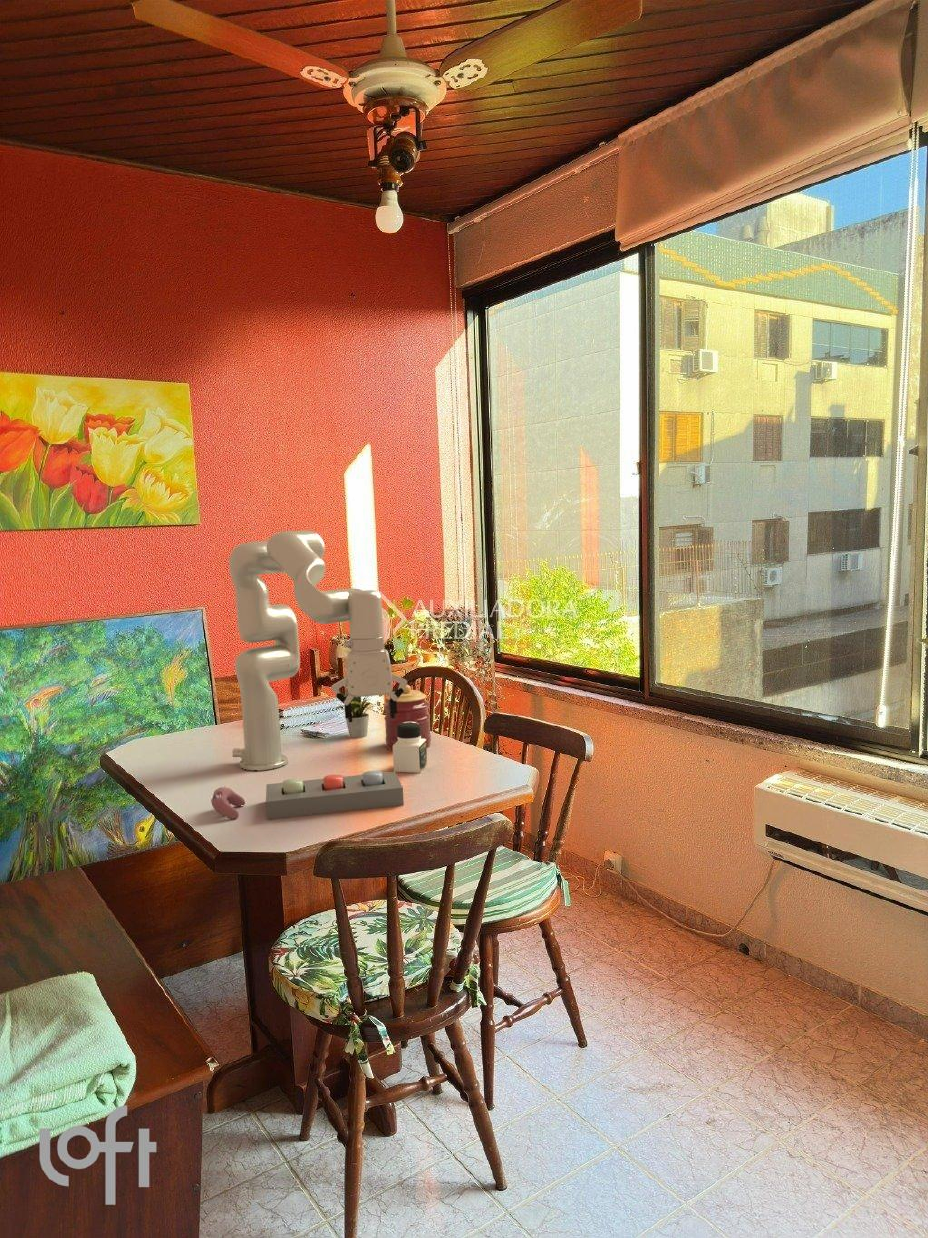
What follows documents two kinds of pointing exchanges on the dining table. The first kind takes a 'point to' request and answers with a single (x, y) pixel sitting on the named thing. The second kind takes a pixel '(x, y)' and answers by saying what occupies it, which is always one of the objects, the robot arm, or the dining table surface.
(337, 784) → the red button
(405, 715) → the canister
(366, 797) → the button panel
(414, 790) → the dining table surface
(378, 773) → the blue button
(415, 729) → the medicine bottle
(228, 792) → the video game controller
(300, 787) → the green button
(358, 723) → the house plant
